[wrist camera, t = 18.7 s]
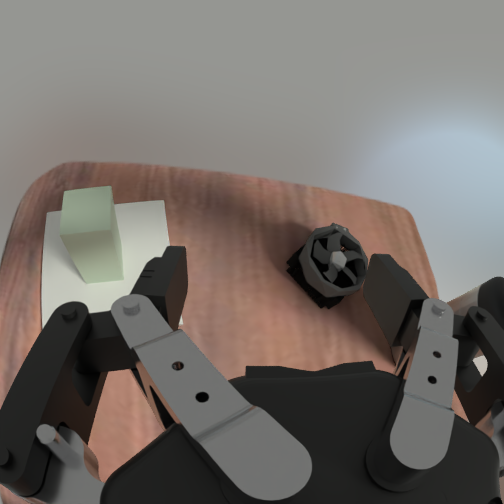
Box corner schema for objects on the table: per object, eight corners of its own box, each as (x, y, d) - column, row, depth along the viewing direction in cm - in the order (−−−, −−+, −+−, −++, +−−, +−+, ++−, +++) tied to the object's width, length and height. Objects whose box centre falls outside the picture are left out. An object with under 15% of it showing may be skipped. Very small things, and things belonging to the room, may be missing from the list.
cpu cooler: (345, 306, 35) (292, 247, 37) (323, 318, 40) (276, 266, 42) (380, 262, 41) (334, 212, 42) (359, 277, 45) (317, 232, 47)
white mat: (163, 202, 41) (163, 199, 41) (182, 324, 34) (183, 323, 34) (48, 214, 35) (47, 212, 34) (44, 339, 28) (43, 338, 27)
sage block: (121, 244, 36) (111, 185, 26) (124, 280, 34) (110, 229, 24) (86, 248, 34) (64, 191, 24) (86, 283, 32) (59, 235, 22)
